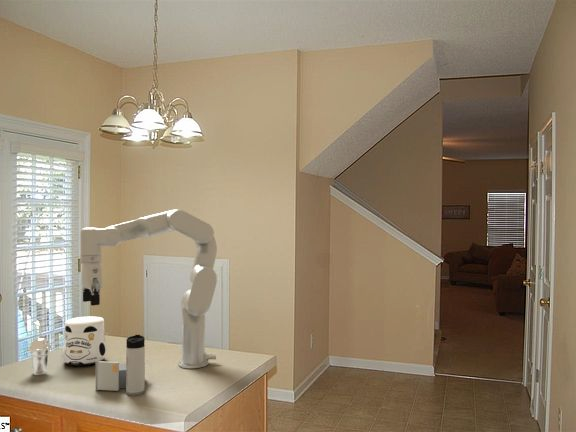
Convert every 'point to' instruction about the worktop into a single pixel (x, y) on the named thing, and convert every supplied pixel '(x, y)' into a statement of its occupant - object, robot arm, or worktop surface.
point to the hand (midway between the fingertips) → (91, 303)
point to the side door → (107, 375)
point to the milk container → (84, 341)
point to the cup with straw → (39, 353)
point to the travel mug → (135, 365)
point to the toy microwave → (122, 375)
